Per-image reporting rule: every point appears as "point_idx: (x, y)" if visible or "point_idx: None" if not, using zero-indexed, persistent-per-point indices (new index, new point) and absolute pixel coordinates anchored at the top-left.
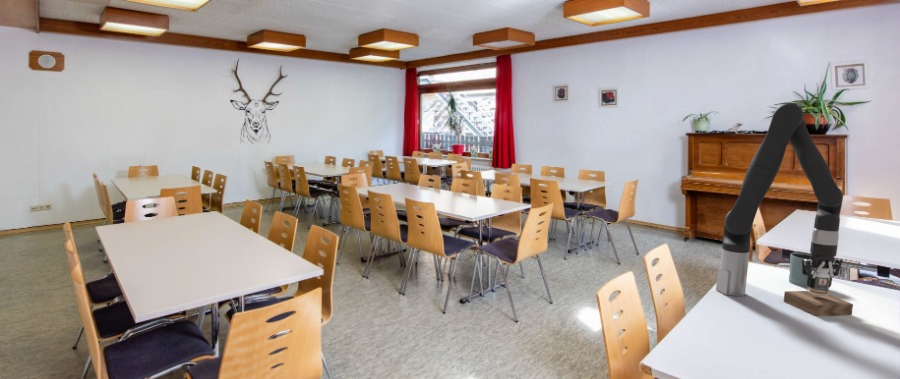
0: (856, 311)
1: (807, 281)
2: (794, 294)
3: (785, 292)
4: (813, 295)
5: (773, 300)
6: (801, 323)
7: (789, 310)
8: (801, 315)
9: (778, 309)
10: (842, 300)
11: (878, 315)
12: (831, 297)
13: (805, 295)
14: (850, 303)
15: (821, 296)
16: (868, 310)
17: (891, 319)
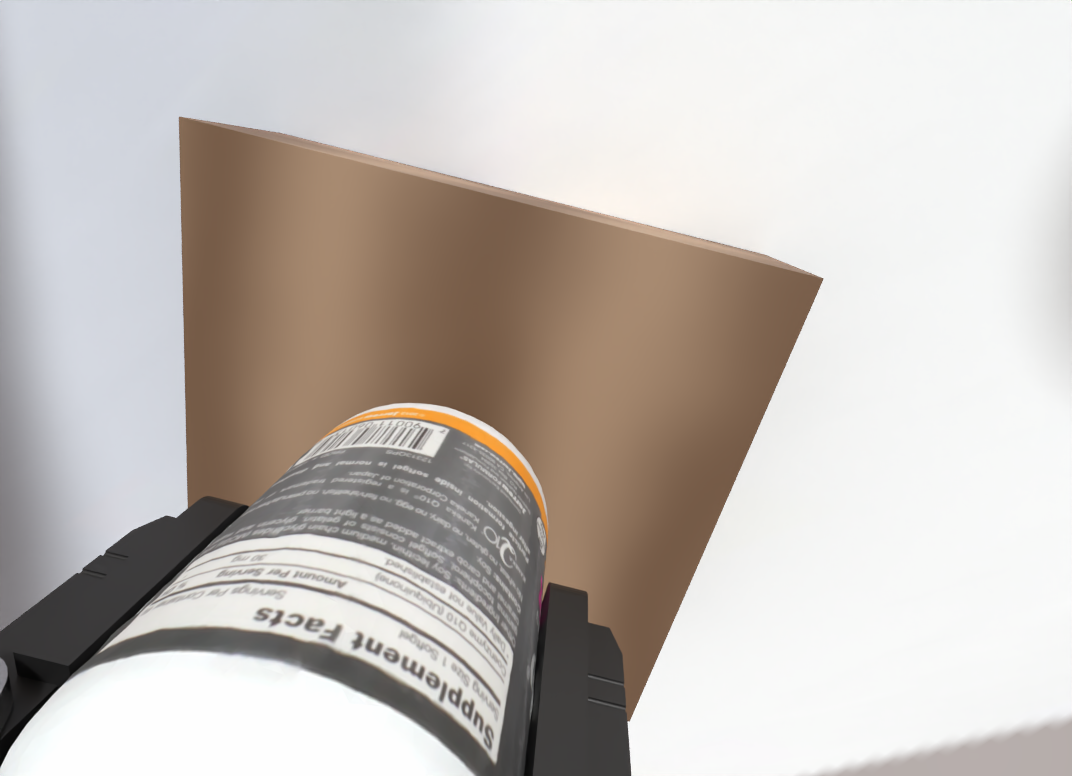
0: (785, 592)
1: (83, 574)
2: (226, 281)
3: (189, 137)
4: (474, 405)
5: (183, 47)
6: (26, 570)
7: (134, 359)
8: (154, 476)
9: (35, 302)
10: (652, 632)
11: (855, 698)
12: (641, 533)
13: (356, 366)
14: (626, 704)
15: (547, 467)
16: (938, 618)
17: (841, 764)
